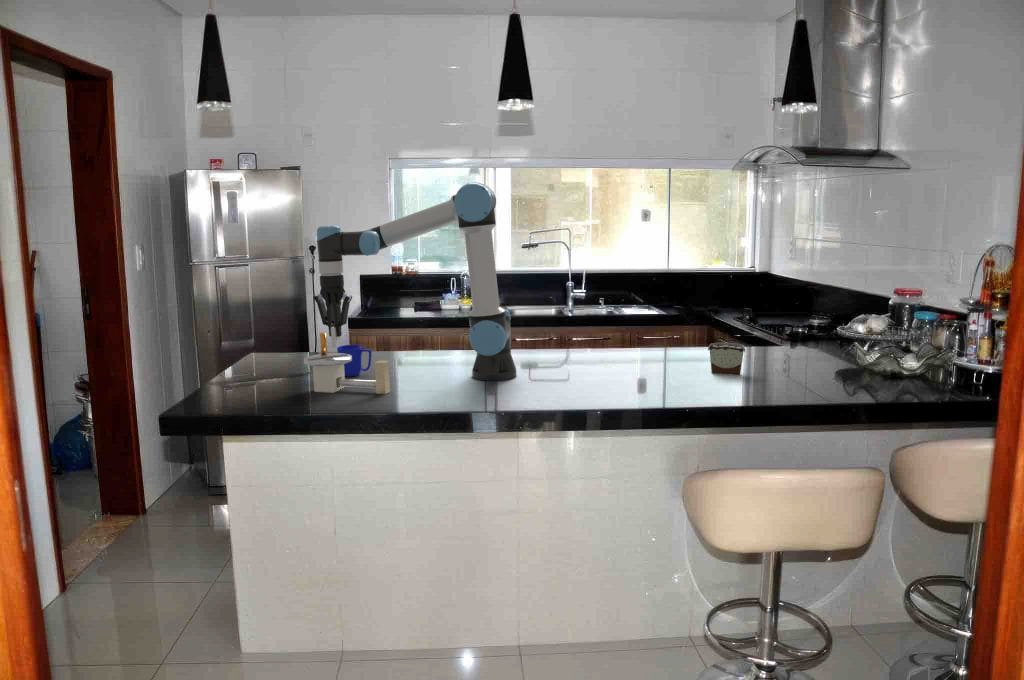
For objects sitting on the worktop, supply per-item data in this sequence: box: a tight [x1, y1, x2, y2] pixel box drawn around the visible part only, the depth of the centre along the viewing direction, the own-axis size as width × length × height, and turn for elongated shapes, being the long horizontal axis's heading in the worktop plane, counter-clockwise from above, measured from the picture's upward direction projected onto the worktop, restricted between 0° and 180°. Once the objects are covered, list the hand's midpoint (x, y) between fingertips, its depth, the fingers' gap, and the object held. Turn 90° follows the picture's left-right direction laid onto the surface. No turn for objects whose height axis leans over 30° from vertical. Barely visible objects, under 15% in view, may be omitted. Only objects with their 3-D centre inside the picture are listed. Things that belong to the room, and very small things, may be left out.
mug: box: [336, 344, 372, 377], centre depth 272 cm, size 8×12×10 cm
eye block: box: [312, 364, 346, 394], centre depth 252 cm, size 7×7×9 cm
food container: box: [707, 342, 746, 377], centre depth 264 cm, size 12×6×10 cm, turn 65°
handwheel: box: [303, 332, 352, 367], centre depth 250 cm, size 15×15×8 cm
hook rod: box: [336, 360, 391, 395], centre depth 250 cm, size 25×3×10 cm, turn 73°
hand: (336, 346), depth 256 cm, fingers closed
